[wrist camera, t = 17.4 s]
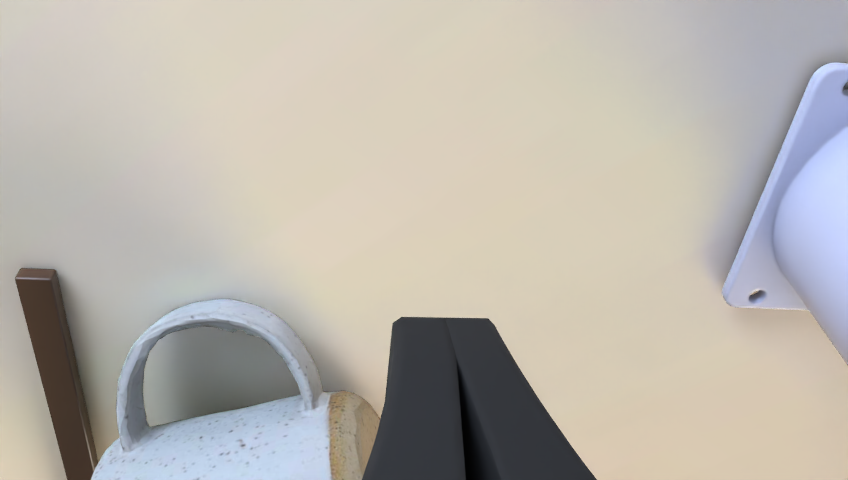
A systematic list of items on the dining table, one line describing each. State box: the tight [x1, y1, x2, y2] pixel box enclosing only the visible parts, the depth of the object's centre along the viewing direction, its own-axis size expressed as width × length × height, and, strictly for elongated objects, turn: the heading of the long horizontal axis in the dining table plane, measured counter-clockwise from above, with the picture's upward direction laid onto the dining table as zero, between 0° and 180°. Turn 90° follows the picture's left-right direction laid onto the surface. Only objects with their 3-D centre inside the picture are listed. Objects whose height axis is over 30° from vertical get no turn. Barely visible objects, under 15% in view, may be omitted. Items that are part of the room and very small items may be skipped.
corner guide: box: [15, 268, 98, 480], centre depth 28 cm, size 18×18×1 cm
